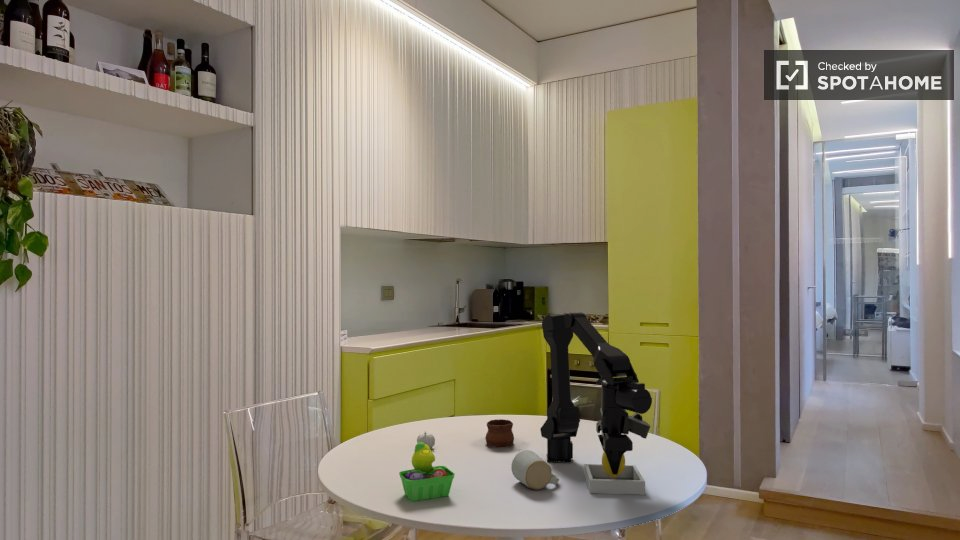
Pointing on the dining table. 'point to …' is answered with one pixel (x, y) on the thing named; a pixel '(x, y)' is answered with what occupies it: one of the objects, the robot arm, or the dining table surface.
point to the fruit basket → (426, 476)
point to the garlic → (426, 439)
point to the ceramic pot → (499, 433)
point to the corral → (614, 480)
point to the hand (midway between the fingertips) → (613, 470)
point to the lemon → (607, 466)
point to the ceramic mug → (532, 470)
